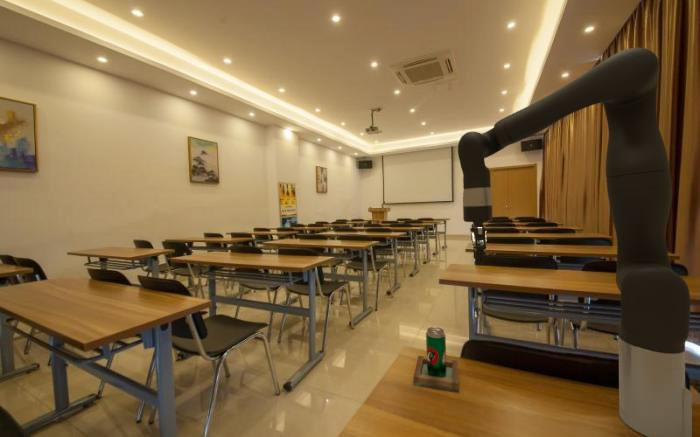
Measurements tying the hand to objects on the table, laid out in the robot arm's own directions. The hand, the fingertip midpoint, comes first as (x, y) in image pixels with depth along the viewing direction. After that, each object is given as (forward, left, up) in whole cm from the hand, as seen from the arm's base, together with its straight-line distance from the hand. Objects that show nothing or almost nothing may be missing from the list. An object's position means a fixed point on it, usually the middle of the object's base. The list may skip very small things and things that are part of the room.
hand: (478, 261), depth 82 cm
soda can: (+12, +9, -30) cm, 33 cm away
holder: (+12, +9, -30) cm, 34 cm away
